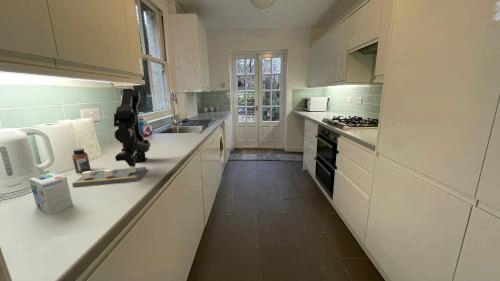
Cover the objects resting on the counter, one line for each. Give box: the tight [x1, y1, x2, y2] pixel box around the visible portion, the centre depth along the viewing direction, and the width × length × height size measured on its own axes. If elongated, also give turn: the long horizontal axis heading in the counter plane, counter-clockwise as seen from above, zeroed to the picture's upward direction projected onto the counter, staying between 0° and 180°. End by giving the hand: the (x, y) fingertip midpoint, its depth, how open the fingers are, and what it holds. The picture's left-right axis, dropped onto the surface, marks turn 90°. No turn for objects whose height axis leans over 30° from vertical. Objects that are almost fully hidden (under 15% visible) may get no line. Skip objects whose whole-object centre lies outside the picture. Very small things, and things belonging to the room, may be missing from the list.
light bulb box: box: [28, 171, 74, 215], centre depth 70 cm, size 11×7×11 cm, turn 62°
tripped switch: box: [126, 165, 136, 173], centre depth 95 cm, size 2×3×3 cm, turn 101°
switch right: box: [81, 170, 93, 179], centre depth 90 cm, size 2×3×3 cm, turn 101°
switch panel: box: [71, 166, 147, 188], centre depth 95 cm, size 14×25×2 cm, turn 101°
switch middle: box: [104, 168, 114, 177], centre depth 91 cm, size 2×3×3 cm, turn 101°
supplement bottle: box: [71, 148, 91, 174], centre depth 102 cm, size 6×6×11 cm
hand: (133, 169), depth 97 cm, fingers closed
